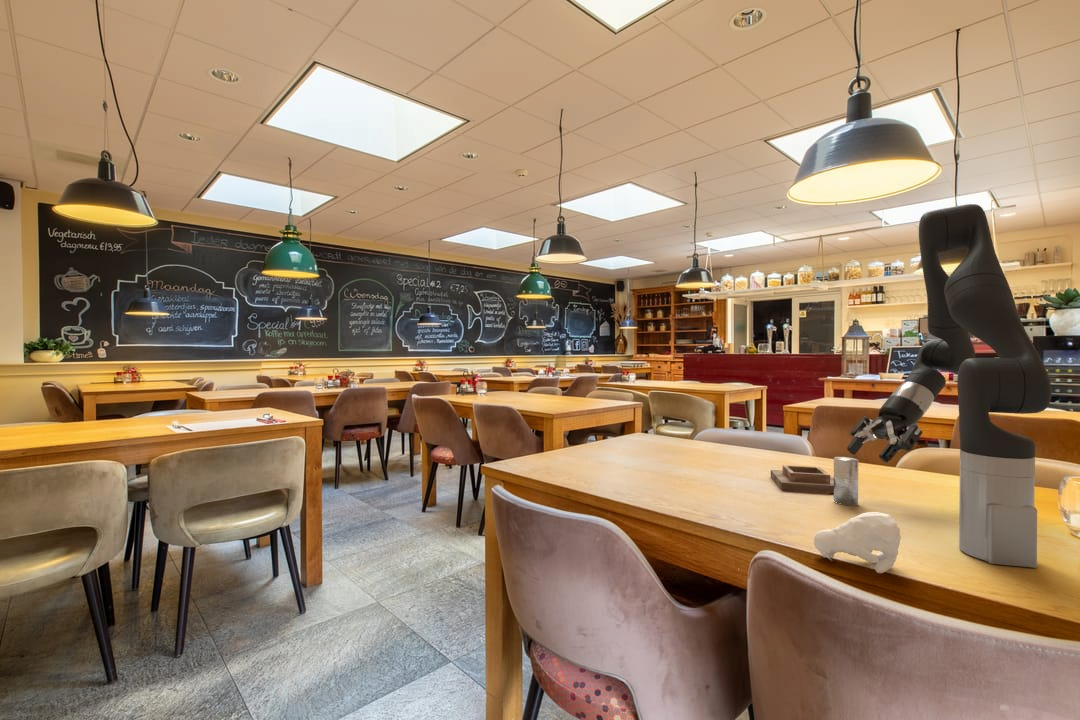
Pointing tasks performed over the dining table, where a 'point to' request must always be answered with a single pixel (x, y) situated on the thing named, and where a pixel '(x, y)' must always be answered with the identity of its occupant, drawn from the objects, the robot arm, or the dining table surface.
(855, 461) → the steel canister
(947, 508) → the dining table surface
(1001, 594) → the dining table surface
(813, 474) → the plate
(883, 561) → the white animal figurine
